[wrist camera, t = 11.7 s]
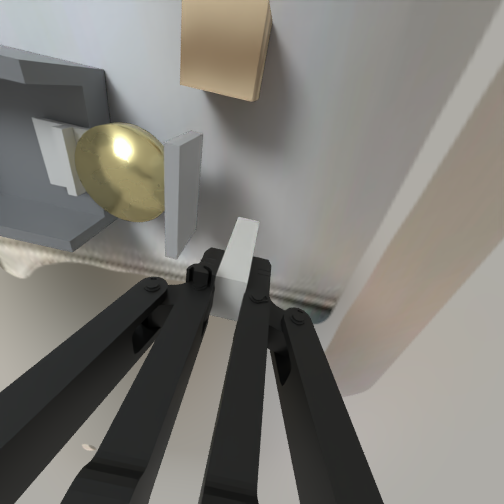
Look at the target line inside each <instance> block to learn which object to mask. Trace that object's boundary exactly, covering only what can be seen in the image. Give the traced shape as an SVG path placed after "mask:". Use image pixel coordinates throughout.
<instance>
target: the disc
mask: <svg viewBox="0 0 504 504" xmlns="http://www.w3.org/2000/svg"><path fill="white" fill-rule="evenodd" d="M75 165H76V170H77V174H78V176H79V179H80V181H81V183H82V185H83V187H84V188H85V190H86V191H87V193H88V194H89V195H90V197H91V198H92V199H93V200H94V201H95V202H96V203H97V204H98V205H99V206H100V207H102V208H103V209H104V210H105V211H107V212H109V213H110V214H112V215H114V216H116V217H118V218H120V219H123V220H127V221H131V222H145V221H150V220H152V219H155V218H156V217H158V216H159V215H160V214H162V213H163V212H164V211H165V196H164V146H163V145H162V144H161V143H160V142H159V141H158V140H157V139H156V138H155V137H154V136H153V135H152V134H150V133H149V132H147V131H146V130H144V129H142V128H140V127H138V126H136V125H133V124H129V123H123V122H116V123H109V124H104V125H98V126H95V127H92V128H91V129H89V130H87V131H86V132H85V133H84V134H83V135H82V136H81V137H80V139H79V141H78V143H77V146H76V149H75Z"/></svg>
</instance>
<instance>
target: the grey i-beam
mask: <svg viewBox="0 0 504 504" xmlns="http://www.w3.org/2000/svg"><path fill="white" fill-rule="evenodd" d="M32 121H33V124H34V128H35V131H36V135H37V138H38V142H39V145H40V148H41V152H42V155H43V159H44V162H45V166H46V169H47V173H48V176H49V180H50V183H51V184H54V185H58V186H63V187H67V191H68V194H69V195H73V196H79V195H81V194H83V193H85V192H87V191H86V190H85V188H84V187H83V185H82V183H81V181H80V179H79V176H78V174H77V170H76V165H75V149H76V146H77V143H78V141H79V139H80V137H81V136H82V135H83V134H84V133H85V132H86V131H87V130H89V128H85V127H80V126H76V125H72V124H67V123H63V122H59V121H55V120H50V119H46V118H42V117H32ZM202 144H203V133H199V132H194V131H189V132H187V133H185V134H182V135H180V136H177V137H175V138H173V139H170V140H168V141H166V142H164V196H165V257H169V258H173V259H178V257H179V255H180V254H181V252H182V251H183V249H184V248H185V246H186V244H187V243H188V241H189V240H190V238H191V237H192V235H193V234H194V232H195V230H196V225H197V212H198V198H199V185H200V171H201V158H202Z"/></svg>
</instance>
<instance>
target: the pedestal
mask: <svg viewBox="0 0 504 504" xmlns="http://www.w3.org/2000/svg"><path fill="white" fill-rule="evenodd" d="M271 26H272V16H271V10H270V4H269V0H182V19H181V66H180V85H184V86H188V87H192V88H196V89H201V90H205V91H209V92H213V93H217V94H221V95H226V96H230V97H234V98H238V99H242V100H246V101H251V102H253V101H256V100H258V99H259V93H260V88H261V82H262V76H263V71H264V65H265V60H266V54H267V49H268V43H269V37H270V32H271Z"/></svg>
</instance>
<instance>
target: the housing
mask: <svg viewBox="0 0 504 504" xmlns="http://www.w3.org/2000/svg"><path fill="white" fill-rule="evenodd" d="M32 117H42V118H46V119H50V120H55V121H59V122H63V123H67V124H72V125H76V126H80V127H85V128H89V129H91V128H92V127H95V126H98V125H104V124H109V123H110V116H109V108H108V100H107V92H106V84H105V76H104V70H103V69H99V68H95V67H90V66H86V65H82V64H78V63H74V62H70V61H65V60H61V59H57V58H53V57H49V56H44V55H40V54H36V53H32V52H28V51H24V50H19V49H15V48H11V47H7V46H3V45H0V236H2V237H7V238H11V239H16V240H20V241H25V242H29V243H33V244H38V245H42V246H47V247H51V248H56V249H60V250H65V251H69V252H74V251H75V250H76V249H78V248H79V247H80V246H82V245H83V244H84V243H86V242H87V241H88V240H90V239H91V238H92V237H94V236H95V235H96V234H98V233H99V232H100V231H101V230H103V229H104V228H105V227H107V226H108V225H109V224H111V223H112V222H113V221H115V220H116V219H117V218H118V217H116V216H114V215H112V214H110V213H109V212H107V211H105V210H104V209H103V208H102V207H100V206H99V205H98V204H97V203H96V202H95V201H94V200H93V199H92V198H91V197H90V195H89V194H88V193H87V192H85V193H83V194H81V195H79V196H73V195H69V194H68V191H67V187H63V186H58V185H54V184H51V183H50V180H49V176H48V173H47V169H46V166H45V162H44V159H43V155H42V152H41V148H40V145H39V142H38V138H37V135H36V131H35V128H34V124H33V121H32Z"/></svg>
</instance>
